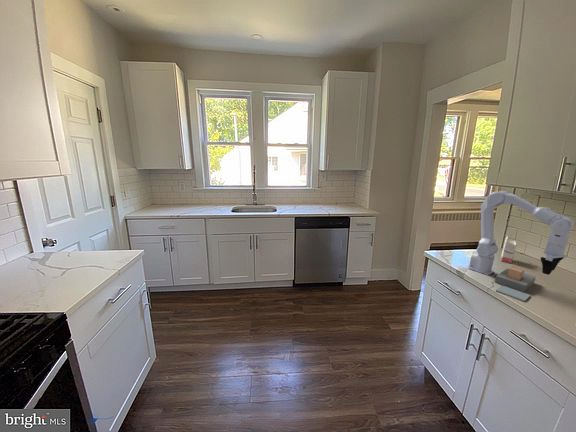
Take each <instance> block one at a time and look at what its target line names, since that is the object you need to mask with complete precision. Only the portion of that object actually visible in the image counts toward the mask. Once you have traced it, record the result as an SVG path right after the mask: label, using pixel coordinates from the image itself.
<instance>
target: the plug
mask: <svg viewBox="0 0 576 432" xmlns="http://www.w3.org/2000/svg"><path fill="white" fill-rule="evenodd" d="M508 269H509V272H508V276H507V277H509V278H512V279H515V280H518V281H521V280H522V277H523V273H525V269H523V268H520V267H516V266H510V267H509V268H508Z"/></svg>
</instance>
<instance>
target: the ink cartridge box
mask: <svg viewBox="0 0 576 432" xmlns="http://www.w3.org/2000/svg"><path fill="white" fill-rule="evenodd" d="M508 239H509V237H508V235H506V237H505V240H504V243H503V247H502V251H501V255H500V260H501V262H505V263H508V264H512V263H513V258H514V255H515V251H516V247H517V242H516V241H515V240H508Z"/></svg>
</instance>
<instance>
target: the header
mask: <svg viewBox="0 0 576 432" xmlns="http://www.w3.org/2000/svg"><path fill="white" fill-rule="evenodd" d="M508 272H509V268H506V269H504V270H503V271H501V272H499V273H498V274H497V275H496V276H495V279H494V283H495V284H498V285H501V286H502V285H503V286H506V287H508V288H511V289H514V290H517V291H520V292H523V293H525V292H526V291H528V290H529V289H530V287H532V286H533V285H534V284H535V281H536V276H534V275H532V274H528V273H525V272H524V273H523V277H522V280H521V281H518V280H515V279H512V278H509V277H507V276H508Z"/></svg>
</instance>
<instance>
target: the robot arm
mask: <svg viewBox="0 0 576 432" xmlns="http://www.w3.org/2000/svg"><path fill="white" fill-rule="evenodd" d="M502 204H504V205H514V206H517V207H518V208H520V209H522V210H526V211H527V212H529V213H531V214H532V217H533V218H534V219H537V220H538V221H541V222H542V223H544V224H546V225H547V226H550V227H551V231H550V233H549V235H548V240H547V242H546V246H545V250H544V251H543V254H544V256H546V257H543V256H541V257H540V262H541V267H542V268H541V269H542V270H541V271H542V274H545V275H548V276H549V275H550V274H551V273H552V272H553V271H554V270H555V269H557V267H558V264H559V263H561V261H562V260H563V259H564V258H565V259H566V258H568V255H567V254H566V255H565V251H566V248H567V245H568V242H569V239H570V234H571V230H572V229H573V228H574V225H575V222H574V220H573V219H572V218H571V217H569V216H564V214H561V213H560V214H559V213H557V212H556V211H553V210H551V208H550V207H549V206H548V207H545V206H540V207H538V206H536V205H535V204H533V203H531V202H529V201H527V200H525V199H523V198H522V197H519V196H517V194H514V193H511V192H509V191H506V190H500V191H493V192H490V193H489V194H488V195H486V198H485V199H484V200H483V202H482V204H481V205H480V240H479V241H478V245H477V248H476V252H473V253H472V254H471V257H470V261H469V264H468V268H467V269H469V270H472V271H475V272H478V273H481V274H484V275H487V276H490V275H491V274H492V273H494V272H495V270H493V265H494V261H495V258H496V257H495V254H497V252H499V251H498V250H499V247H498V246H497V244H496V243H497V241H496V240H495V237H494V235H495V233H494V232H495V231H494V227H495V226H494V224H495V223H494V222H495V220H494V217H495V216H494V215H495V214H494V210H495V209H496V208H497V207H499V206H501V205H502Z"/></svg>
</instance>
